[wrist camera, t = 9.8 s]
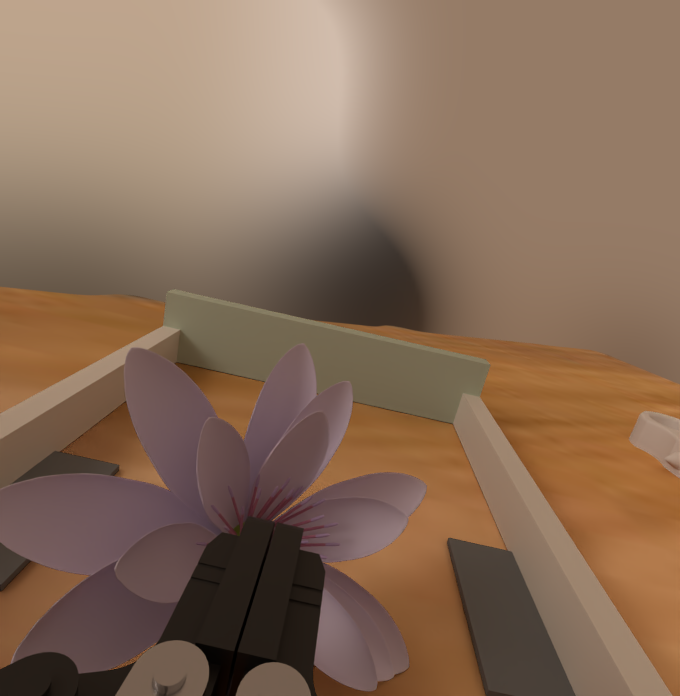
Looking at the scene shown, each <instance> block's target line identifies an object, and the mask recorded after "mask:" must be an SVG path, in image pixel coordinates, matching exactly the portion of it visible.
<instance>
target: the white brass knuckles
mask: <svg viewBox="0 0 680 696" xmlns="http://www.w3.org/2000/svg"><path fill="white" fill-rule="evenodd" d="M629 440H630V442H631V443H632V444H633V445H634V446H635V447H638V448H640V449H642V450H643V451H645V452H647V453H649V454H650V455H652V456H653V457H655V458H656V459H657V460H658V461H660V462H661V464H662V465H663V467H665V468H666V469H667V470H669V471H670V472H672V473H673V474H674V475H676V476H677V477H679V478H680V419H677V418H674V417H671V416H668V415H665V414H661V413H656V412H650V411H645V412H642V413H641V414H640V416H639V418H638V420H637V422H636V424H635V427H634V429H633V431H632V433H631V435H630V437H629Z"/></svg>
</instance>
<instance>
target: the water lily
mask: <svg viewBox="0 0 680 696" xmlns="http://www.w3.org/2000/svg"><path fill="white" fill-rule="evenodd" d="M124 387H125V388H124V390H125V396H126V401H127V406H128V410H129V413H130V417H131V420H132V423H133V426H134V428H135V431H136V433H137V435H138V438H139V440H140V442H141V444H142V446H143V448H144V450H145V452H146V453H147V455H148V457H149V459H150V461H151V462H152V464H153V466H154V467H155V469H156V470H157V472H158V474H159V475H160V477H161V479H162V480H163V482H164V483H165V484H166V486H167V487H168V488H169V490H170V491H169V490H167V489H164V488H162V487H159V486H156V485H153V484H150V483H146V482H141V481H136V480H131V479H126V478H121V477H116V476H109V475H102V474H88V473H80V474H60V475H50V476H43V477H37V478H34V479H30V480H25V481H22V482H18V483H14V484H11V485H9V486H6V487H3V488H1V489H0V543H2V544H3V545H4V546H5V547H6V548H8V549H10V550H11V551H13V552H15V553H16V554H18V555H20V556H22V557H24V558H27V559H29V560H31V561H33V562H36V563H38V564H41V565H43V566H46V567H49V568H52V569H56V570H60V571H64V572H69V573H75V574H82V575H90V576H89V577H87V578H86V579H84V580H83V581H82V582H80V583H79V584H77V585H76V586H75V587H74V588H72V589H71V590H70V591H69V592H67V593H66V594H65V595H64V596H63V597H62V598H60V599H59V600H58V601H57V602H56V603H55V604H54V605H53V606H52V607H51V608H50V609H49V610H48V611H47V612H46V613H45V614H44V615H43V616H42V617H41V618H40V619H39V620H38V621H37V622H36V624H35V625H34V626H33V627H32V628H31V630H30V631H29V633H28V634H27V635H26V637H25V638H24V639H23V641H22V642H21V643H20V645H19V646H18V648H17V649H16V651H15V653H14V655H13V659H12V661H11V664H12V663H14V662H16V661H18V660H20V659H22V658H24V657H27V656H30V655H33V654H37V653H42V652H56V653H60V654H64V655H66V656H68V657H69V658H70V659H71V660H73V661H74V663H75V664H76V666H77V669H78V673H79V674H81V673H90V672H98V671H107V670H110V669H112V668H114V667H116V666H119V665H121V664H123V663H125V662H126V661H128V660H130V659H132V658H133V657H135V656H137V655H138V654H140V653H141V652H143V651H144V650H146V649H148V648H149V647H150V646H152V645H153V644H155V643H156V642H158V641H159V639H160V637H161V636H162V634H163V632H164V630H165V628H166V626H167V624H168V622H169V620H170V618H171V616H172V614H173V612H174V610H175V608H176V605H177V603H178V601H179V599H180V597H181V595H182V593H183V591H184V589H185V587H186V585H187V583H188V581H189V580H190V578H191V575H192V573H193V571H194V569H195V567H196V566H197V564H198V561H199V559H200V557H201V555H202V553H203V551H204V549H205V547H206V545H207V544H208V543H210V542H211V541H212V540H213V539H214V538H216V537H217V536H218V535H219V534H220V533H222V532H224V533H228V534H232V535H237V536H240V533H241V531H242V528H243V526H244V523H245V521H246V519H247V517H248V516H251V517H256V518H260V519H265V520H269V521H272V520H273V519H274V518H276V517H277V516H278V515H279V514H280V513H282V512H283V511H284V510H285V509H286V508H288V507H289V506H290V505H291V504H292V503H293V502H294V501H295V500H296V499H297V498H299V497H300V496H301V495H302V494H303V493H304V492H305V491H306V490H307V489H308V488H309V487H310V486H311V485H312V484H313V482H314V481H315V480H316V479H317V478H318V477H319V475H320V474H321V473H322V472H323V470H324V469H325V467H326V466H327V464H328V463H329V461H330V460H331V458H332V457H333V455H334V453H335V452H336V450H337V448H338V447H339V445H340V443H341V441H342V439H343V437H344V435H345V432H346V429H347V427H348V424H349V420H350V417H351V412H352V405H353V390H352V385H351V383H350V381H342V382H339V383H337V384H334V385H332V386H331V387H329V388H327V389H326V390H324V391H323V392H321V393H320V394H319V395H317V380H316V371H315V366H314V362H313V359H312V356H311V354H310V351H309V349H308V348H307V346H306V345H305V344H304V343H301V344H298V345H296V346H294V347H293V348H291V349H290V350H289V351H288V352H287V353H286V354H285V355H284V356H283V357H282V358H281V359H280V360H279V361H278V363H277V364H276V365H275V367H274V368H273V370H272V371H271V373H270V375H269V377H268V378H267V380H266V382H265V384H264V386H263V388H262V390H261V392H260V395H259V397H258V400H257V402H256V405H255V408H254V410H253V413H252V416H251V419H250V422H249V425H248V429H247V432H246V435H245V439H244V441H243V439H242V437H241V436H240V434H239V433H238V432H237V431H236V429H235V428H234V427H233V426H232V425H230V424H229V423H227V422H226V421H224V420H222V419H220V418H218V417H217V415H216V413H215V411H214V409H213V407H212V406H211V404H210V402H209V401H208V399H207V398H206V396H205V395H204V393H203V392H202V391H201V389H200V388H199V387H198V386H197V384H196V383H195V382H194V381H193V380H192V379H191V378H190V377H189V376H188V375H187V374H186V373H185V372H184V371H182V370H181V369H180V368H179V367H178V366H176V365H175V364H174V363H173V362H171V361H169V360H168V359H166V358H164V357H163V356H161V355H159V354H157V353H155V352H152V351H150V350H147V349H144V348H138V347H137V348H136V347H133V348H131V349H130V350H129V352H128V353H127V355H126V360H125V366H124ZM426 489H427V485H426V484H425V483H424V482H423V481H421V480H420V479H418V478H416V477H413V476H410V475H407V474H403V473H391V472H387V473H374V474H368V475H364V476H360V477H357V478H353V479H350V480H346V481H343V482H340V483H337V484H334V485H331V486H329V487H326V488H324V489H322V490H320V491H318V492H316V493H315V494H313V495H311V496H309V497H307V498H306V499H304V500H302V501H301V502H299V503H298V504H296V505H295V506H293V507H292V508H290V509H289V510H288V511H286V512H285V513H284V514H282V515H281V516H279V517H278V518H276V519H275V520H274V521H273V522H275V527H274V531H275V528H276V524H277V522H279V523H283V524H287V525H292V526H296V527H301V528H304V531H303V536H302V541H301V545H300V550H304V551H308V552H313V553H317V554H320V557H321V560H322V563H323V562H341V561H347V560H354V559H359V558H363V557H366V556H369V555H372V554H374V553H376V552H378V551H380V550H382V549H384V548H385V547H387V546H388V545H390V544H391V543H392V542H393V541H394V540H396V539H397V538H398V537H399V536H400V534H401V533H402V532H403V531H404V529H405V528H406V526H407V523H408V517H409V516H410V515H411V514H412V513H413V512H414V511H415V510H416V509H417V507H418V506H419V505H420V503H421V502H422V500H423V498H424V496H425V493H426ZM273 534H274V532H273ZM323 566H324V569H325V580H324V588H323V596H322V604H321V612H320V619H319V627H318V635H317V643H316V651H315V659H314V665H315V666H316V667H317V668H319V669H320V670H321V671H323V672H324V673H325V674H327V675H328V676H330V677H331V678H332V679H334V680H336V681H338V682H339V683H341V684H343V685H346V686H348V687H351V688H354V689H356V690H361V691H374V690H376V689H377V681H388V680H390V679H392V678H393V677H394V675H395V674H399V673H402V672H404V671H405V670H406V669H408V668H409V656H408V652H407V648H406V645H405V642H404V640H403V637H402V635H401V633H400V631H399V629H398V627H397V625H396V624H395V622H394V621H393V619H392V618H391V616H390V615H389V613H388V612H387V611H386V610H385V608H384V607H383V606H382V605H381V604H380V603H379V602H378V601H377V600H376V599H375V598H374V597H373V596H372V595H371V594H370V593H369V592H368V591H366V590H365V589H364V588H363V587H361V586H360V585H359V584H358V583H356V582H355V581H354V580H352V579H351V578H350V577H348V576H347V575H345V574H344V573H342V572H340V571H339V570H337V569H335V568H333V567H331V566H329V565H327V564H325V563H323Z"/></svg>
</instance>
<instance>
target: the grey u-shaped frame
mask: <svg viewBox="0 0 680 696" xmlns="http://www.w3.org/2000/svg"><path fill="white" fill-rule="evenodd" d="M301 343H304V344H305V345H306V346H307V348H308V349H309V351H310V354H311V356H312V359H313V362H314V366H315V371H316V380H317V393H318V394H320V393H321V392H323V391H324V390H326V389H327V388H329V387H331V386H332V385H334V384H337V383H339V382H342V381H350V383H351V385H352V390H353V402H358V403H362V404H367V405H371V406H376V407H380V408H385V409H389V410H394V411H398V412H403V413H407V414H412V415H416V416H421V417H425V418H430V419H434V420H438V421H443V422H447V423H452V424H453V425H454V427H455V430H456V432H457V434H458V437H459V439H460V441H461V444H462V446H463V448H464V450H465V453H466V455H467V457H468V460H469V462H470V464H471V467H472V469H473V471H474V474H475V476H476V478H477V481H478V483H479V485H480V488H481V490H482V492H483V494H484V497H485V499H486V501H487V504H488V506H489V508H490V511H491V513H492V515H493V518H494V520H495V522H496V525H497V527H498V529H499V532H500V534H501V536H502V539H503V541H504V543H505V545H506V548H507V550H508V551H507V550H502V549H498V548H493V547H489V546H484V545H480V544H475V543H471V542H466V541H461V540H457V539H452V538H448V541H447V544H448V548H449V552H450V556H451V560H452V564H453V568H454V572H455V576H456V579H457V583H458V587H459V591H460V595H461V599H462V603H463V607H464V611H465V615H466V619H467V623H468V626H469V630H470V634H471V638H472V642H473V646H474V650H475V654H476V658H477V662H478V666H479V670H480V673H481V677H482V681H483V685H484V689H485V693H486V696H672V694H671V692H670V691H669V689H668V688H667V686H666V685H665V683H664V682H663V680H662V678H661V677H660V675H659V674H658V672H657V671H656V669H655V668H654V666H653V665H652V663H651V661H650V660H649V658H648V657H647V655H646V654H645V652H644V651H643V649H642V648H641V646H640V644H639V643H638V641H637V640H636V638H635V637H634V635H633V634H632V632H631V630H630V629H629V627H628V626H627V624H626V623H625V621H624V620H623V618H622V617H621V615H620V613H619V612H618V610H617V609H616V607H615V606H614V604H613V603H612V601H611V599H610V598H609V596H608V595H607V593H606V592H605V590H604V589H603V587H602V586H601V584H600V582H599V581H598V579H597V578H596V576H595V575H594V573H593V572H592V570H591V569H590V567H589V565H588V564H587V562H586V561H585V559H584V558H583V556H582V555H581V553H580V551H579V550H578V548H577V547H576V545H575V544H574V542H573V541H572V539H571V538H570V536H569V534H568V533H567V531H566V530H565V528H564V527H563V525H562V524H561V522H560V520H559V519H558V517H557V516H556V514H555V513H554V511H553V510H552V508H551V507H550V505H549V503H548V502H547V500H546V499H545V497H544V496H543V494H542V493H541V491H540V490H539V488H538V486H537V485H536V483H535V482H534V480H533V479H532V477H531V476H530V474H529V472H528V471H527V469H526V468H525V466H524V465H523V463H522V462H521V460H520V459H519V457H518V455H517V454H516V452H515V451H514V449H513V448H512V446H511V445H510V443H509V441H508V440H507V438H506V437H505V435H504V434H503V432H502V431H501V429H500V428H499V426H498V424H497V423H496V421H495V420H494V418H493V417H492V415H491V414H490V412H489V411H488V409H487V407H486V406H485V404H484V403H483V401H482V400H481V398H480V395H481V392H482V389H483V386H484V383H485V380H486V377H487V374H488V371H489V368H490V364H489V363H488V362H487V360H486V359H481V358H477V357H472V356H468V355H463V354H459V353H455V352H450V351H446V350H441V349H437V348H432V347H428V346H424V345H419V344H415V343H410V342H406V341H401V340H397V339H393V338H388V337H384V336H379V335H375V334H370V333H366V332H361V331H357V330H353V329H348V328H344V327H339V326H335V325H330V324H326V323H322V322H317V321H313V320H308V319H304V318H299V317H295V316H291V315H286V314H281V313H277V312H273V311H268V310H264V309H259V308H254V307H250V306H246V305H242V304H237V303H233V302H228V301H224V300H220V299H215V298H211V297H206V296H202V295H197V294H193V293H188V292H184V291H180V290H175V289H173V290H171V291H168V292H167V296H166V304H165V314H164V323H163V326H162V327H160V328H158V329H156V330H155V331H153V332H151V333H149V334H147V335H145V336H143V337H142V338H140V339H138V340H136V341H134V342H132V343H130V344H129V345H127V346H125V347H123V348H121V349H119V350H117V351H116V352H114V353H112V354H110V355H108V356H106V357H104V358H103V359H101V360H99V361H97V362H95V363H93V364H91V365H90V366H88V367H86V368H84V369H82V370H80V371H78V372H77V373H75V374H73V375H71V376H69V377H67V378H65V379H64V380H62V381H60V382H58V383H56V384H54V385H52V386H51V387H49V388H47V389H45V390H43V391H41V392H39V393H38V394H36V395H34V396H32V397H30V398H28V399H26V400H24V401H23V402H21V403H19V404H17V405H15V406H13V407H11V408H10V409H8V410H6V411H4V412H2V413H0V489H1V488H3V487H6V486H9V485H11V484H14V483H18V482H22V481H25V480H30V479H34V478H37V477H43V476H50V475H60V474H80V473H88V474H102V475H109V476H114V475H115V474H116V473H117V471H118V470H119V465H117V464H112V463H108V462H103V461H99V460H94V459H90V458H85V457H81V456H76V455H72V454H67V453H62V452H60V451H61V450H63V449H64V448H65V447H67V446H68V445H69V444H70V443H72V442H73V441H74V440H76V439H77V438H78V437H80V436H81V435H82V434H83V433H85V432H86V431H87V430H89V429H90V428H91V427H93V426H94V425H95V424H97V423H98V422H99V421H100V420H102V419H103V418H104V417H106V416H107V415H108V414H110V413H111V412H112V411H113V410H115V409H116V408H117V407H119V406H120V405H121V404H123V403H124V402H125V401H126V396H125V390H124V388H125V387H124V366H125V360H126V355H127V353H128V352H129V350H130V349H131V348H133V347H136V348H137V347H138V348H144V349H147V350H150V351H152V352H155V353H157V354H159V355H161V356H163V357H164V358H166V359H168V360H169V361H171V362H173V363H174V364H175V363H176V362H179V363H184V364H188V365H192V366H197V367H201V368H206V369H210V370H215V371H219V372H224V373H228V374H233V375H237V376H242V377H246V378H251V379H255V380H260V381H264V382H266V380H267V378H268V377H269V375H270V373H271V371H272V370H273V368H274V367H275V365H276V364H277V363H278V361H279V360H280V359H281V358H282V357H283V356H284V355H285V354H286V353H287V352H288V351H289V350H290V349H291V348H293V347H294V346H296V345H298V344H301ZM30 561H31V560H29V559H27V558H24V557H22V556H20V555H18V554H16V553H15V552H13V551H11V550H10V549H8V548H6V547H5V546H4V545H3V544H2V543H0V591H2V590H3V589H4V588H5V587H6V586H7V585H8V584H9V583H10V582H11V581H12V579H13V578H14V577H15V576H16V575H17V574H18V573H19V572H20V571H21V570H22V569H23V568H24V567H25V566H26V565H27V564H28V563H29V562H30Z"/></svg>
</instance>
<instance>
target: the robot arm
mask: <svg viewBox="0 0 680 696" xmlns="http://www.w3.org/2000/svg"><path fill="white" fill-rule="evenodd" d="M274 527H275V522H273V521H269V520H265V519H260V518H256V517H251V516H248V517H247V519H246V521H245V523H244V526H243V528H242V531H241V533H240V536H237V535H232V534H228V533H224V532H222V533H220V534H219V535H218V536H217V537H216V538H214V539H213V540H212V541H211V542H210V543H208V544H207V545H206V547H205V549H204V551H203V553H202V555H201V557H200V559H199V561H198V564H197V566H196V567H195V569H194V571H193V573H192V575H191V578H190V580H189V581H188V583H187V585H186V587H185V589H184V591H183V593H182V595H181V597H180V599H179V601H178V603H177V605H176V608H175V610H174V612H173V614H172V616H171V618H170V620H169V622H168V624H167V626H166V628H165V630H164V632H163V634H162V636H161V637H160V639H159V641H158V642H157V644H156V645H155V646H154V647H152V648H150V649H149V650H147V651H146V652H145V653H144V654H143V655H142V656H141V657H140V658H139V659H138V660H137V661H136V662H134V663H132V664H130V665H127V666H125V667H122V668H118V669H113V670H107V671H98V672H90V673H81V674H79V673H78V669H77V666H76V664H75V663H74V661H73V660H71V659H70V658H69V657H68V656H66V655H64V654H60V653H56V652H42V653H37V654H33V655H30V656H27V657H24V658H22V659H20V660H18V661H16V662H14V663H12V664H10V665H8V666H6V667H4V668H2V669H0V696H317V694H316V692H315V688H314V684H313V667H314V659H315V651H316V643H317V635H318V627H319V619H320V612H321V604H322V596H323V588H324V580H325V569H324V566H323V563H322V560H321V557H320V554H317V553H313V552H308V551H304V550H300V545H301V541H302V536H303V531H304V528H301V527H296V526H292V525H287V524H283V523H279V522H277V524H276V528H275V531H274ZM273 532H274V534H273Z"/></svg>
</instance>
